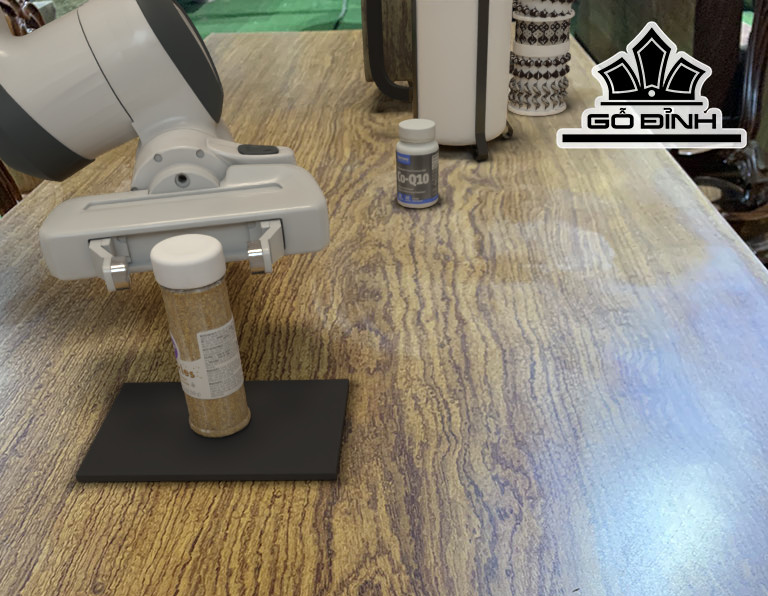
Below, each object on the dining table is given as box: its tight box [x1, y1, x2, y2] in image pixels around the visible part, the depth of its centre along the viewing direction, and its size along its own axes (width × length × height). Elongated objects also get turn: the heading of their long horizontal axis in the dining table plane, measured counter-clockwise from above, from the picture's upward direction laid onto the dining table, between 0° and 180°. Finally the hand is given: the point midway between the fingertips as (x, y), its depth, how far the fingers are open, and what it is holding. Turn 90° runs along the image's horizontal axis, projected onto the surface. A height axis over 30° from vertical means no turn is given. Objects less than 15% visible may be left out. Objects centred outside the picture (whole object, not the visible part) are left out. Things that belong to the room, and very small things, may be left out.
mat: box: [75, 378, 350, 483], centre depth 61 cm, size 18×12×1 cm, turn 88°
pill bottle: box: [395, 118, 440, 209], centre depth 91 cm, size 5×5×8 cm
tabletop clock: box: [360, 0, 413, 112], centre depth 118 cm, size 14×9×25 cm, turn 175°
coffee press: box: [366, 0, 514, 162], centre depth 99 cm, size 17×16×30 cm
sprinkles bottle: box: [150, 234, 251, 438], centre depth 56 cm, size 5×5×14 cm
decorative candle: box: [507, 0, 578, 117], centre depth 112 cm, size 9×9×25 cm
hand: (189, 272), depth 55 cm, fingers open, 8 cm apart
